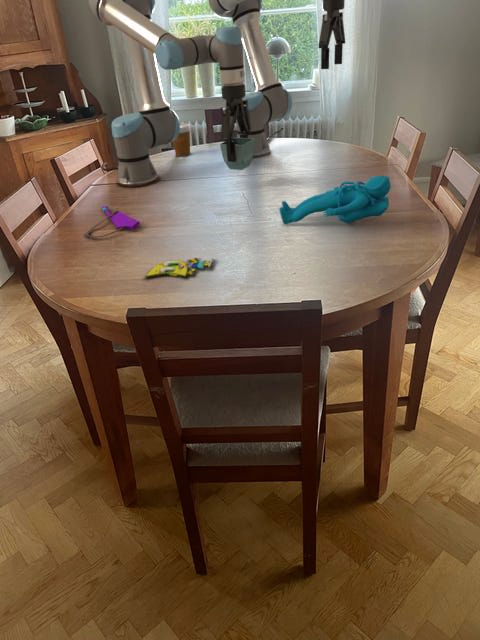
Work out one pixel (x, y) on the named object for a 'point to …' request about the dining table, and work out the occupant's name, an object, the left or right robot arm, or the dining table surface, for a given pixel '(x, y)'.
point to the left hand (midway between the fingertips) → (238, 157)
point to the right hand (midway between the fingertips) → (331, 66)
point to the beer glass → (182, 141)
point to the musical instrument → (117, 221)
